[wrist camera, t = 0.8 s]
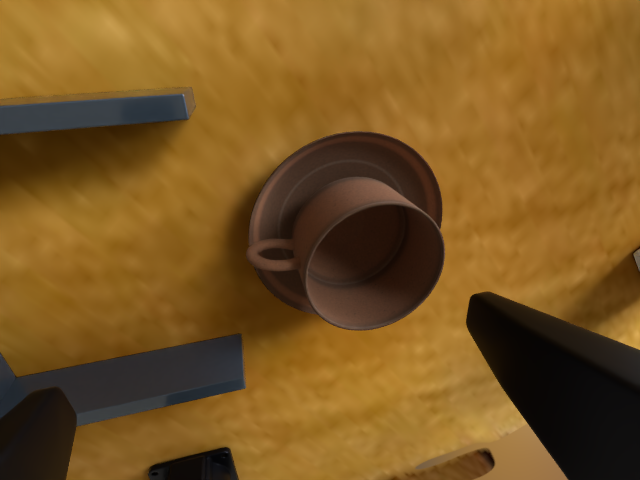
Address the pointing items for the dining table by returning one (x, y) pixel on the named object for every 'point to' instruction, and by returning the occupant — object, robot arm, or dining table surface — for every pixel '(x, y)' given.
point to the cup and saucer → (350, 230)
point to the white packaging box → (637, 258)
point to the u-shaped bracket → (139, 369)
